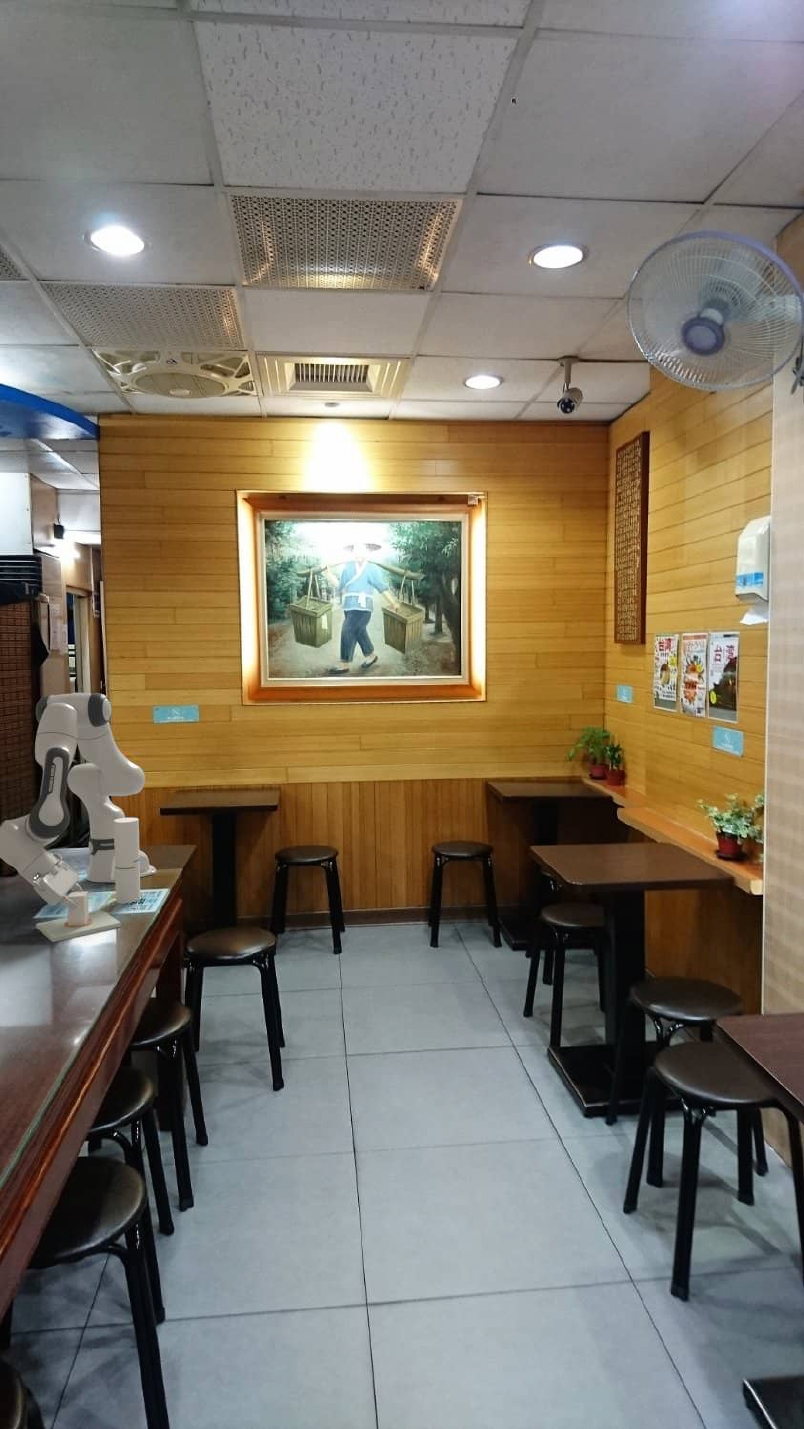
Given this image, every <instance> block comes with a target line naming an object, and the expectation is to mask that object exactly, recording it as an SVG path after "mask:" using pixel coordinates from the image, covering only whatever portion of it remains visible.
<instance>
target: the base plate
mask: <svg viewBox="0 0 804 1429" xmlns="http://www.w3.org/2000/svg"><path fill="white" fill-rule="evenodd" d="M35 924H36V926H35V928H36V929H37V930H38V929H39V930H40V931H41V932H42V933H41V932H40V931H39V930H38V931H39V932H40V933H41V934H43V935H44V936H45V937H46V938H47V939H48V940H50V941H51V942H52V943H56V942H59V941H64V940H69V939H73V938H76V937H77V938H78V937H81V936H86V935H90V934H95V933H99V932H103V931H108V930H112V929H117V928H120V927H122V926H121V925H122V924H121V922H120V921H119V920H117V919H116V918H114V917H113V916H112V915H110V914H108V913H107V912H105V911H104V910H102V909H101V910H98V911H97V910H96V911H91V912H89V920H88V921H87V923H86V924H85V925H69V926H68V916H67V917H63V918H58V919H54V920H49V921H44V922H39V923H35Z"/></svg>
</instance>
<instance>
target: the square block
mask: <svg viewBox="0 0 804 1429" xmlns="http://www.w3.org/2000/svg"><path fill="white" fill-rule="evenodd" d="M67 896H68V898H69V899H70V900H72V901H75V902H76V903H77V904H78V907H77V908H76V909H75V910H74V911H72V910H71V909H70V908H68V907H67V917H68V926H69V925H85V924H86V923H87V921H88V920H89V913H90V911H89V891H87V890H86V891H84V892H74V891H70V893H69V894H68V895H67Z"/></svg>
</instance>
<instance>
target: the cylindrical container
mask: <svg viewBox="0 0 804 1429" xmlns="http://www.w3.org/2000/svg"><path fill="white" fill-rule="evenodd" d="M139 822H140V820H139V818H138V817H125V818H120V819H116V820H114V845H115V883H114V884H115V902H116V903H117V904H126V903H128V904H133V903H132V902H134V903H137V902H139V901H140V900H141V877H140V859H139V858H140V857H139V850H140V829H139V827H140V826H139V825H140V823H139ZM139 899H140V900H139ZM138 900H139V901H138ZM136 901H137V902H136Z"/></svg>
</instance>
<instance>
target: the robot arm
mask: <svg viewBox="0 0 804 1429" xmlns="http://www.w3.org/2000/svg"><path fill="white" fill-rule="evenodd" d="M112 710H113V709H112V704H111V701H110V699H109V697H108V696H106V695H105V694H103V693H99V692H92V693H91V692H89V693H88V692H72V693H64V694H62V693H61V694H55V695H54V694H50V695H46V696H43V697H41V698H40V699H39V701H38V702H37V703H36V707H35V717H36V720H37V722H38V728H37V731H36V736H35V743H34V744H35V745H34V755H35V756H34V757H35V760H36V762H37V763H38V765H40V766H41V767H42V779H41V786H40V793H39V797H38V800H37V802H36V803H35V805H34V806H33V807H32V809H31V811H30V813H28V814H27V815H24V816H21V817H18V818H15V819H10V820H7V819H6V820H4V821H3V822H1V823H0V859H2V860H3V861H4V862H5V863H6V864H7V865H9V866H10V867H11V866H12V868H13V867H14V869H16V870H17V873H18V874H19V875H20V876H22V877H23V879H25V880H26V881H27V882H29V883H30V884H31V885H32V886H33V888H34V891H35V892H36V893H37V894H38V896H40V898H42V899H43V900H44V901H45V902H46V903H47V904H48V905H50V906H52V907H54V906H55V907H56V905H57V904H58V903H59V904H60V905H62V906H64V907H66V908H67V909H68V908H70V909H71V910H72V911H74V910H75V909H76V908H77V907H78V904H77V903H76V902H75V901H72V900H70V899H69V898H68V895H67V893H68V892H69V891H71V892H85V891H84V890H83V889H82V888H83V887H81V885H80V884H79V882H78V881H79V880H80V878H81V877H80V876H79V874H78V873H77V871H76V870H74V868H72V866H70V865H69V864H68V863H67V862H66V861H64V860H63V856H62V855H60V854H59V853H52V852H49V851H48V850H47V849H46V848H45V847H46V846H48V844H52V843H53V842H54V841H56V839H57V838H58V837H59V836H60V835H61V834H64V832H65V831H66V830H67V829H68V827H69V825H70V821H71V814H70V811H69V808H68V804H67V800H66V794H67V793H66V792H67V787H68V788H69V790H70V791H71V792H72V794H74V795H76V796H77V797H79V799H80V800H81V802H82V803H83V804H84V806H85V808H86V811H87V813H88V818H89V832H90V834H89V835H90V836H89V839H88V851H89V852H88V853H89V864H88V871H87V874H86V878H85V880H87V881H89V882H93V883H114V884H115V845H114V820H116V819H120V818H126V816H125V812H124V811H123V809H122V808H121V807H120V806H117V805H115V804H114V803H113V802H112V800H111V799H110V797H127V796H133V795H136V794H139V793H140V792H141V791H142V790H143V788H144V786H145V783H146V776H145V772H144V770H143V769H142V768H141V767H140V766H139V765H138V764H135V763H133V762H132V761H131V760H129V758H127V757H126V756H125V755H124V754H123V753H122V752H121V750H120V749H119V747H118V745H117V744H116V741H115V738H114V735H113V731H112V729H111V728H112V727H111V724H110V722H109V721H110V720H111V717H112ZM77 746H78V750H79V753H80V755H81V756H82V758H83V759H84V760H85V761H87V763H81V764H76V765H73V767H71V765H72V763H73V760H74V757H75V755H76V750H77ZM70 767H71V768H70ZM139 857H140V858H139V859H140V878H143V877H146V876H151V875H154V874H156V873H157V869H156V867H155V866H153V865H151V864H150V861H149V858H148V855H147V854H146V853H145V852H144V851H142V850H140V849H139Z"/></svg>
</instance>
